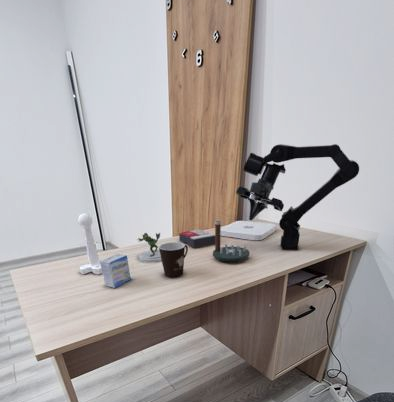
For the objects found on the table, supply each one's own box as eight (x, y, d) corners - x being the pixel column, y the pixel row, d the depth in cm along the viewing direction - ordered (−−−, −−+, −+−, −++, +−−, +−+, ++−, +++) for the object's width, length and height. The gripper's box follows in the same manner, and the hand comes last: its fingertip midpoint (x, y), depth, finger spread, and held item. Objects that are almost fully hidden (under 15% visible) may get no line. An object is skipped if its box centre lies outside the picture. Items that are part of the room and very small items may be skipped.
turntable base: (244, 254, 119) (244, 251, 119) (243, 263, 111) (243, 260, 110) (219, 253, 121) (219, 250, 120) (216, 262, 113) (216, 259, 112)
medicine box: (114, 288, 95) (109, 262, 91) (104, 286, 98) (99, 260, 93) (131, 279, 101) (127, 255, 97) (121, 277, 103) (117, 253, 99)
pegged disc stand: (253, 251, 118) (256, 219, 112) (242, 263, 107) (244, 229, 101) (220, 247, 123) (221, 217, 117) (207, 258, 112) (206, 225, 106)
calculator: (199, 228, 142) (215, 234, 130) (200, 237, 144) (216, 243, 132) (178, 232, 137) (193, 238, 126) (179, 241, 140) (194, 248, 128)
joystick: (108, 264, 114) (98, 210, 104) (115, 270, 109) (105, 213, 99) (79, 271, 109) (65, 215, 99) (85, 278, 104) (70, 219, 93)
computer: (260, 241, 133) (260, 235, 132) (217, 235, 144) (217, 230, 142) (277, 229, 149) (278, 224, 147) (237, 225, 159) (237, 220, 158)
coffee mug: (167, 281, 99) (164, 252, 94) (158, 272, 106) (155, 245, 101) (198, 274, 103) (197, 245, 98) (187, 266, 110) (186, 239, 105)
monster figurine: (132, 257, 120) (128, 232, 115) (155, 250, 128) (153, 225, 122) (151, 264, 113) (148, 237, 108) (174, 256, 120) (172, 230, 115)
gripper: (240, 165, 110) (223, 207, 114) (287, 180, 103) (267, 223, 107) (248, 176, 120) (232, 214, 124) (291, 190, 113) (273, 229, 117)
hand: (250, 220), depth 118 cm, fingers closed
